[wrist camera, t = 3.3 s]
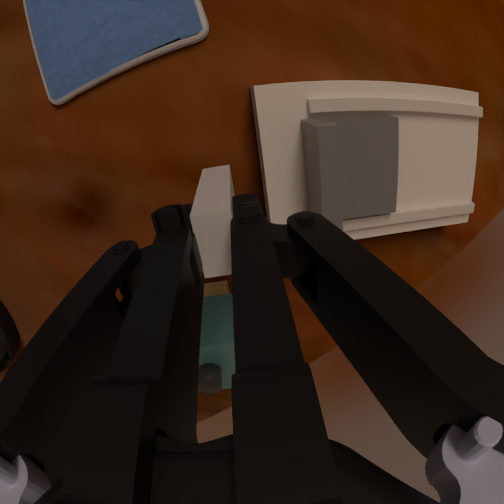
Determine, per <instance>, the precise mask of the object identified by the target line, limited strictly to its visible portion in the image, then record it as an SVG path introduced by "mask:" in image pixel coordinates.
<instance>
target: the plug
mask: <svg viewBox="0 0 504 504" xmlns="http://www.w3.org/2000/svg"><path fill="white" fill-rule="evenodd" d="M232 374H235V351H234V326H233V299H232V293H230V292H229V287H228V283H227V280H226V281H219V282H212V283H205V284H204V296H203V309H202V323H201V338H200V355H199V374H198V391H200V392H202V393H205V394H216V393H219V392H220V391H221V390H222V389H230V388H231V378H232Z"/></svg>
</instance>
